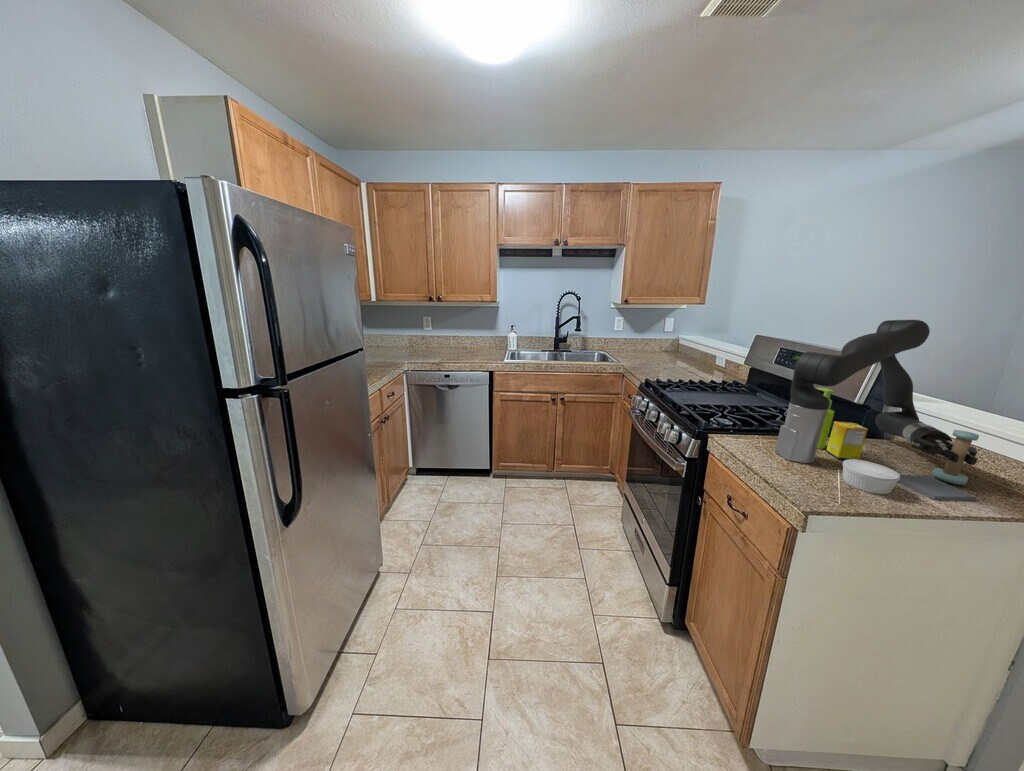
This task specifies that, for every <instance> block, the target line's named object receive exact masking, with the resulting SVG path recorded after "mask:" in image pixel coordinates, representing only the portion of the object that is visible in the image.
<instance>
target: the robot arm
mask: <svg viewBox="0 0 1024 771" xmlns="http://www.w3.org/2000/svg"><path fill="white" fill-rule="evenodd" d="M929 336H930V326H929V324H927V322H925V321H923V320H920V319H889V320H883V321H882V322H881V323H880V324H879V325H878V327H877V328H876V331H875V333H867V334H863V335H860V336H858V337H856V338H854V339H851V340H849V341H848V342H847V343H845V344H844V346H843V347H842V349H841V351H840V352H841V353H840V355H839V354H838V355H837V354H836V355H835V354H829V353H823V352H815V351H805V352H803V353H801V355H799V357H798V359H797V361H796V363H795V366H794V370H793V376H792V381H791V387H790V400H789V404H788V408H787V412H786V416H785V421H784V424H781V425H780V428H779V433H778V436H777V437H778V438H777V441H776V445H775V450H774V453H776V454H777V455H779V456H780V457H782V458H784V459H785V460H787V461H793V462H796V463H802V464H813V463H814V462H815V458H816V455H817V452H818V449H817V448H818V444H819V441H820V437H821V433H822V430H823V426H824V422H825V419H826V415H827V411H828V408H829V404H830V401H829V399H830V398H829V399H828V398H827V397H825V396H824V394H822V393H821V392H820V391H818V389H817V388H815V386H814V385H816V386H822V387H835V386H837V385H839V384H840V383H843V382H844V381H846V380H847V379H848V378H850V377H852V376H853V375H855V374H856V373H857V372H859V371H862V370H864V369H866V368H868V367H870V366H873V365H875V364H878V363H880V367H881V368H880V370H881V373H882V383H883V387H882V389H883V390H882V391H883V392H882V396H883V397H882V398H883V399H882V401H883V404H884V405H885V406H887V407H891V408H896V409H897V408H898V409H901V410H900V411H898V410H897V411H886V412H880V413H878V414H877V415H876V417H875V420H874V421H875V422H874V423H875V425H876V427H877V428H878V429H879V430H880V431H882V432H883V433H885V434H889V435H892V436H895V437H900V438H902V439H904V440H905V441H906V442H908V444H910V447H911V448H914V449H916V450H918V451H921V452H923V453H925V454H929V455H931V456H935V455H937V456H939V457H941V458H945V459H947V460H948V459H949V460H950V461H952V462H957V461H958V458H959V455H958V454H956V453H954V452H952V451H951V449H952V447H953V444H954V442H955V441H953V439H952V437H951V436H950V435H949V434H948V433H946V432H943V431H942V430H940V429H937V428H936V427H935V426H932V425H930V424H926V423H925V422H923V421H921V420H920V418H919V415H918V413H917V411H916V408H915V404H914V400H913V399H914V397H913V396H914V383H913V380H912V377H911V376H910V374H909V373H908V372H907V371H906V369H905V368H904V367H903V366H902V365H901V363H900V361H899V360H898V359H897V356H896V355H897V354H900V353H902V352H905V351H909V350H913V349H916V348H919V347H921V346H922V345H923V344H924V343H925V342H926V341H927V340H928V339H929ZM891 362H892V363H891ZM919 420H920V421H919ZM977 454H978V451H977V449H976V447H973V446H970V447H969V450H968V452H967V455H966V457H965V460H964V462H963V463H966V464H967V465H971V466H975V465H976V464H977V462H978V458H977V457H976V456H977Z"/></svg>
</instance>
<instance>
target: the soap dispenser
mask: <svg viewBox="0 0 1024 771" xmlns="http://www.w3.org/2000/svg"><path fill="white" fill-rule="evenodd" d="M816 390H821V391H823V395H824V396H825V397H827V398H828V399H829V401H830V404H829V408H828V411H827V415H826V419H825V422H824V426H823V430H822V433H821V437H820V441H819V444H818V449H817V450H824V449H825V448H826V444H827V440H828V437H829V434H830V429H831V426H832V422H833V419H834V416H835V410H833V409H831V407H832V403H833V399H831V395H832V394H835V391H834V390H832V389H831V388H826V387H816Z"/></svg>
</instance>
